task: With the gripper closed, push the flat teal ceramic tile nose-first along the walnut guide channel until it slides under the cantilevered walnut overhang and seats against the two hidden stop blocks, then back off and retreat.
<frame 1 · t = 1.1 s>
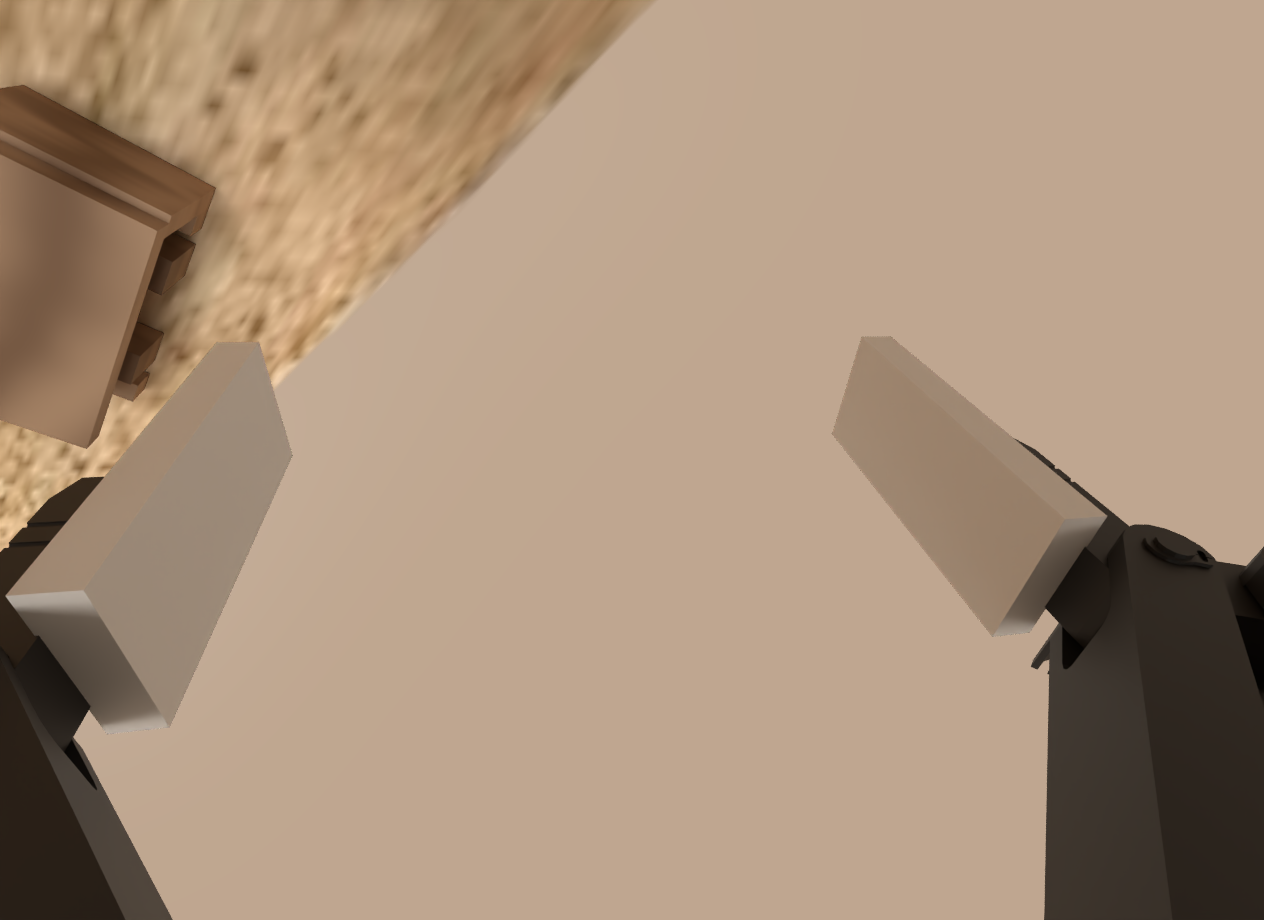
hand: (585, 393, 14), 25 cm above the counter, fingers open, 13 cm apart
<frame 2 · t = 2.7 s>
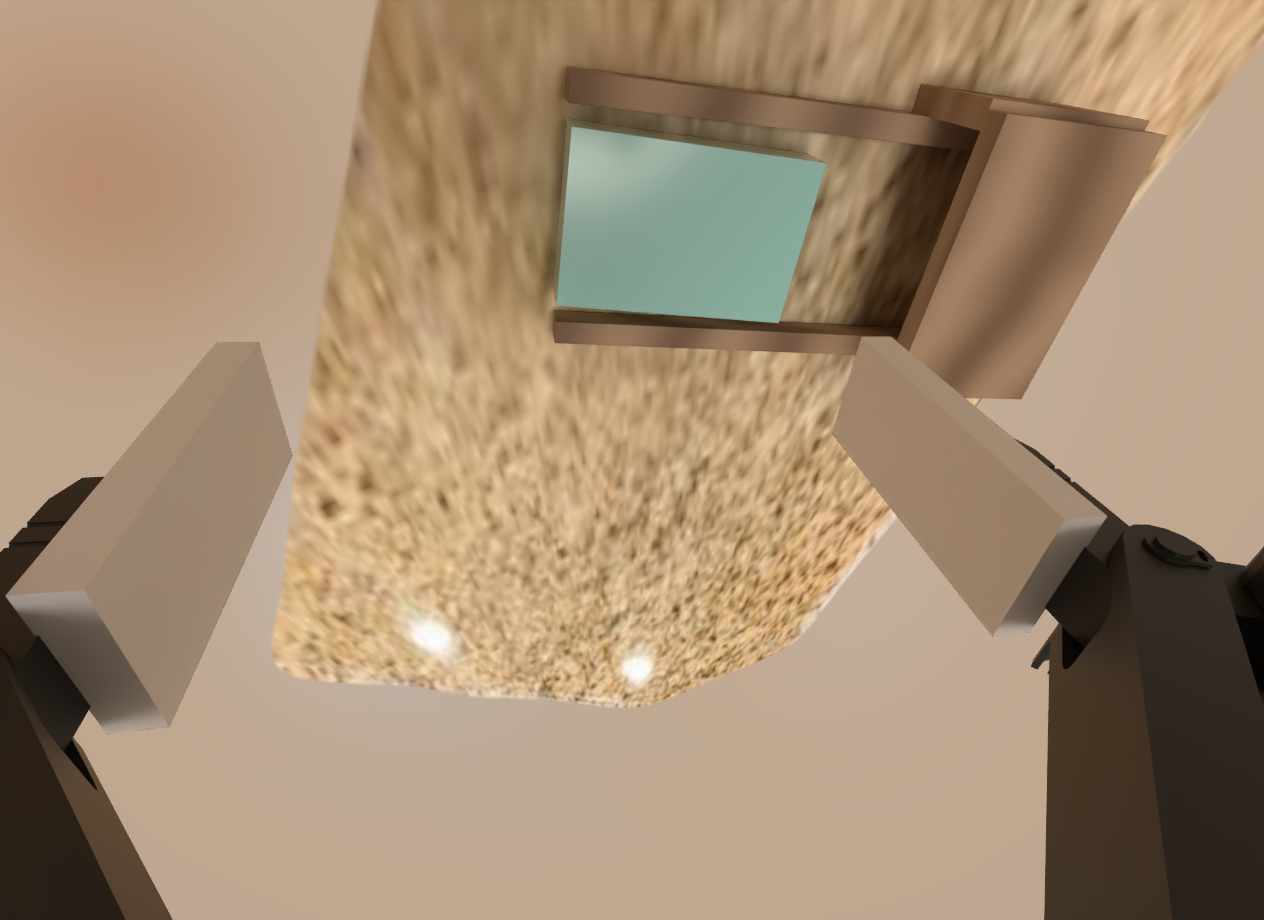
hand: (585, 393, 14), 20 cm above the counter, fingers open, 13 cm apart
tile: (674, 220, 32), on the counter
overhang: (869, 239, 34), on the counter
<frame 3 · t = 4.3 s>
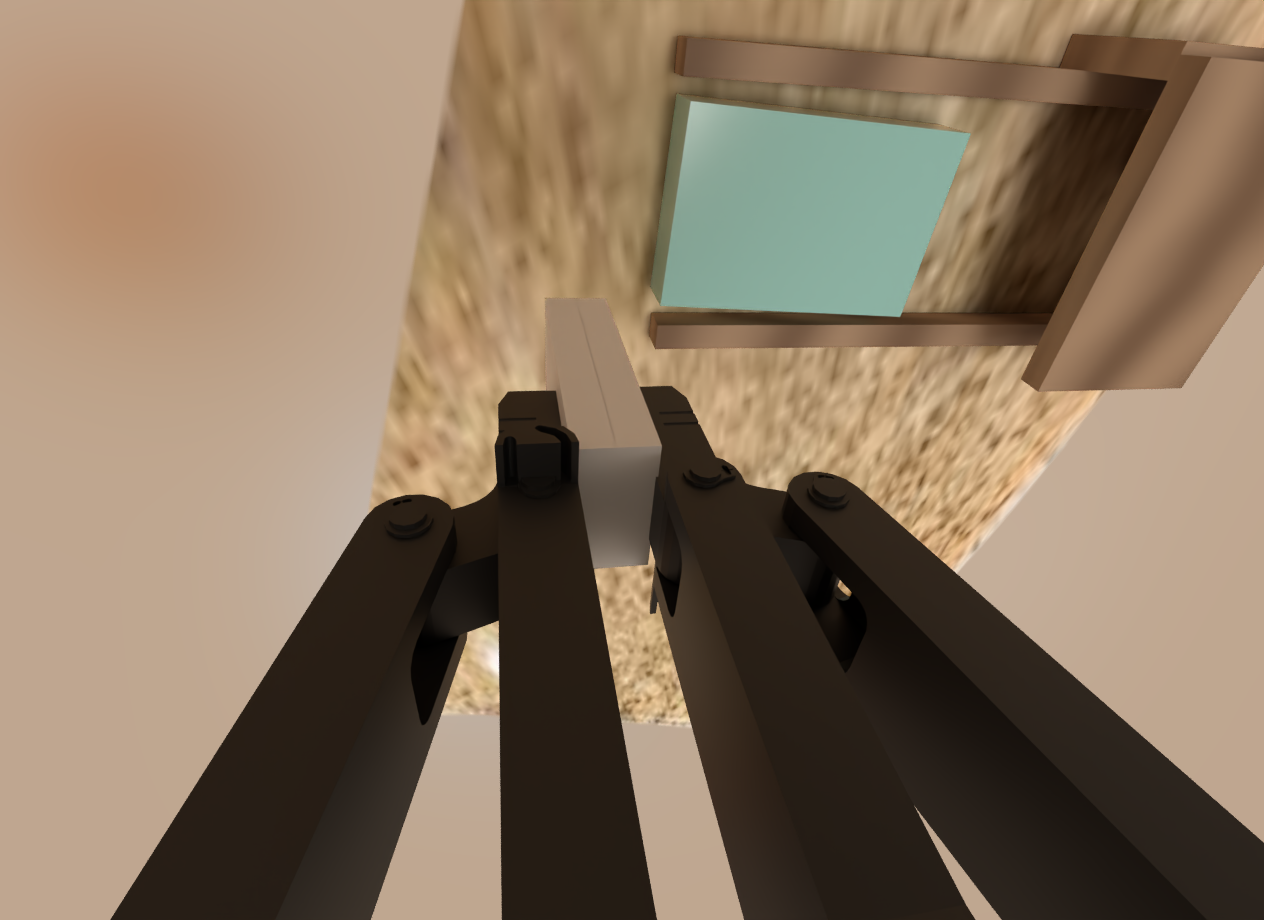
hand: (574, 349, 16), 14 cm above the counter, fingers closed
tile: (785, 205, 29), on the counter
overhang: (999, 216, 31), on the counter
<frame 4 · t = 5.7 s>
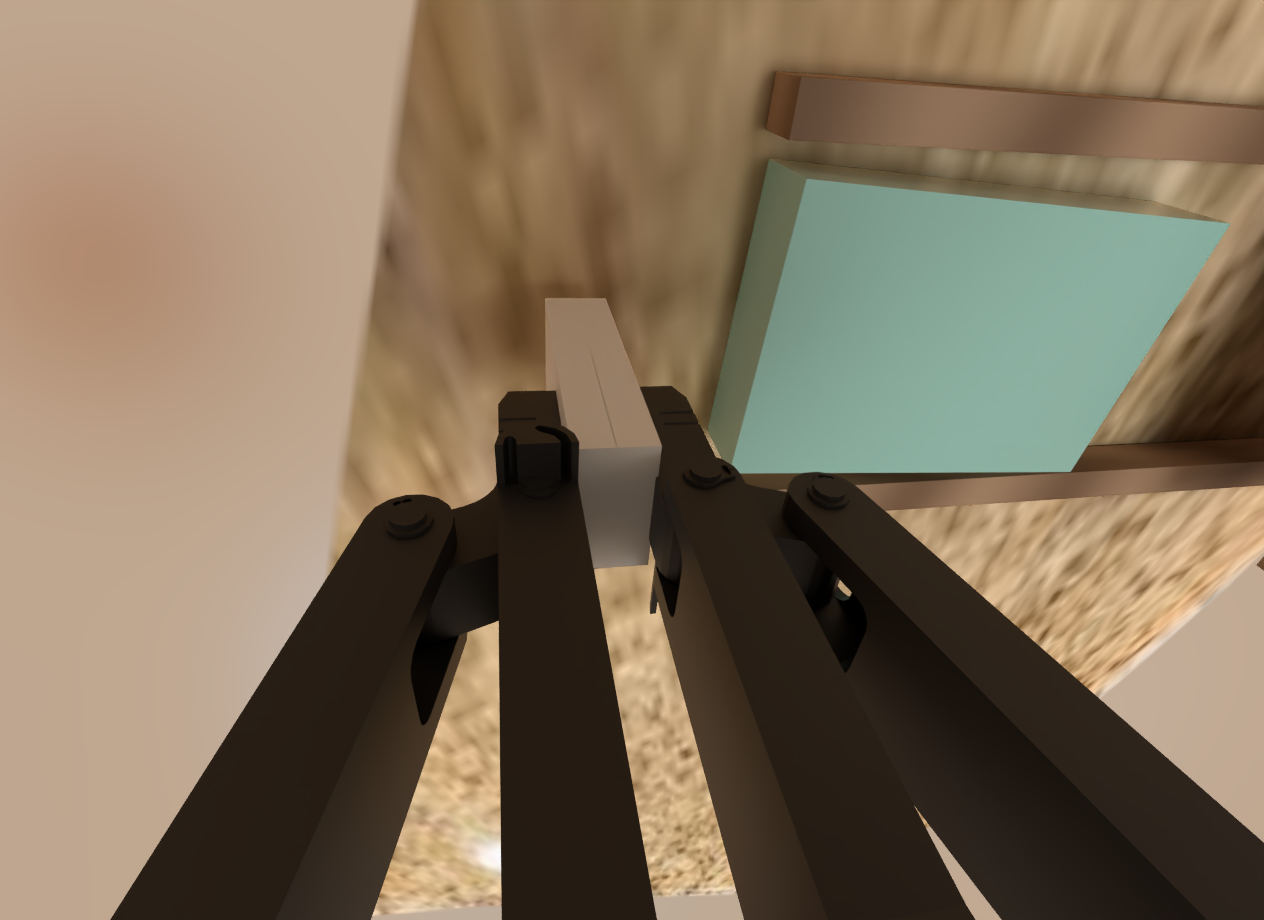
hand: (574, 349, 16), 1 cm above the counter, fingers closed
tile: (911, 315, 19), on the counter
overhang: (1212, 321, 21), on the counter
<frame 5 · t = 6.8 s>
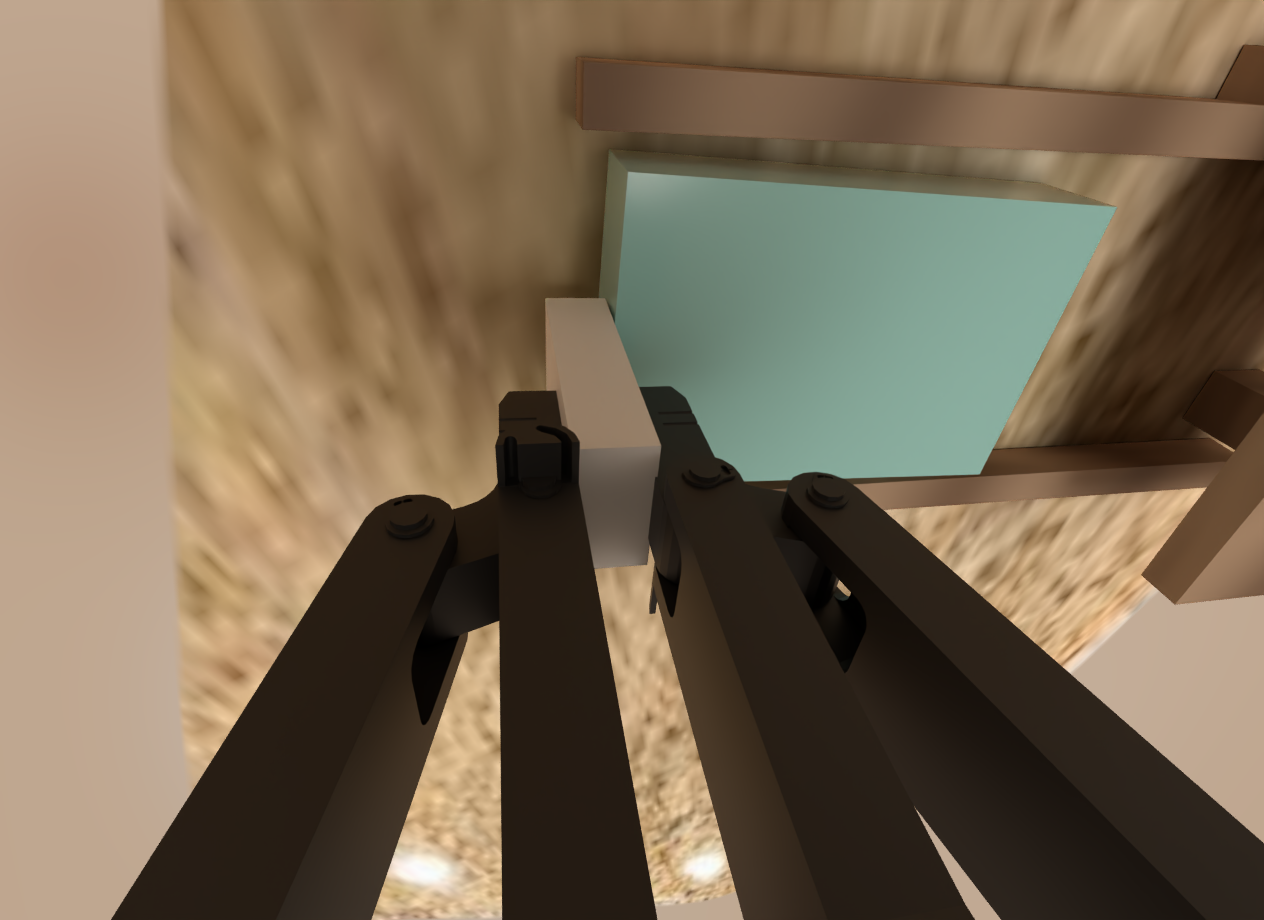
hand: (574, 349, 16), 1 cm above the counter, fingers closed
tile: (799, 313, 18), on the counter, touching gripper
overhang: (1100, 319, 20), on the counter
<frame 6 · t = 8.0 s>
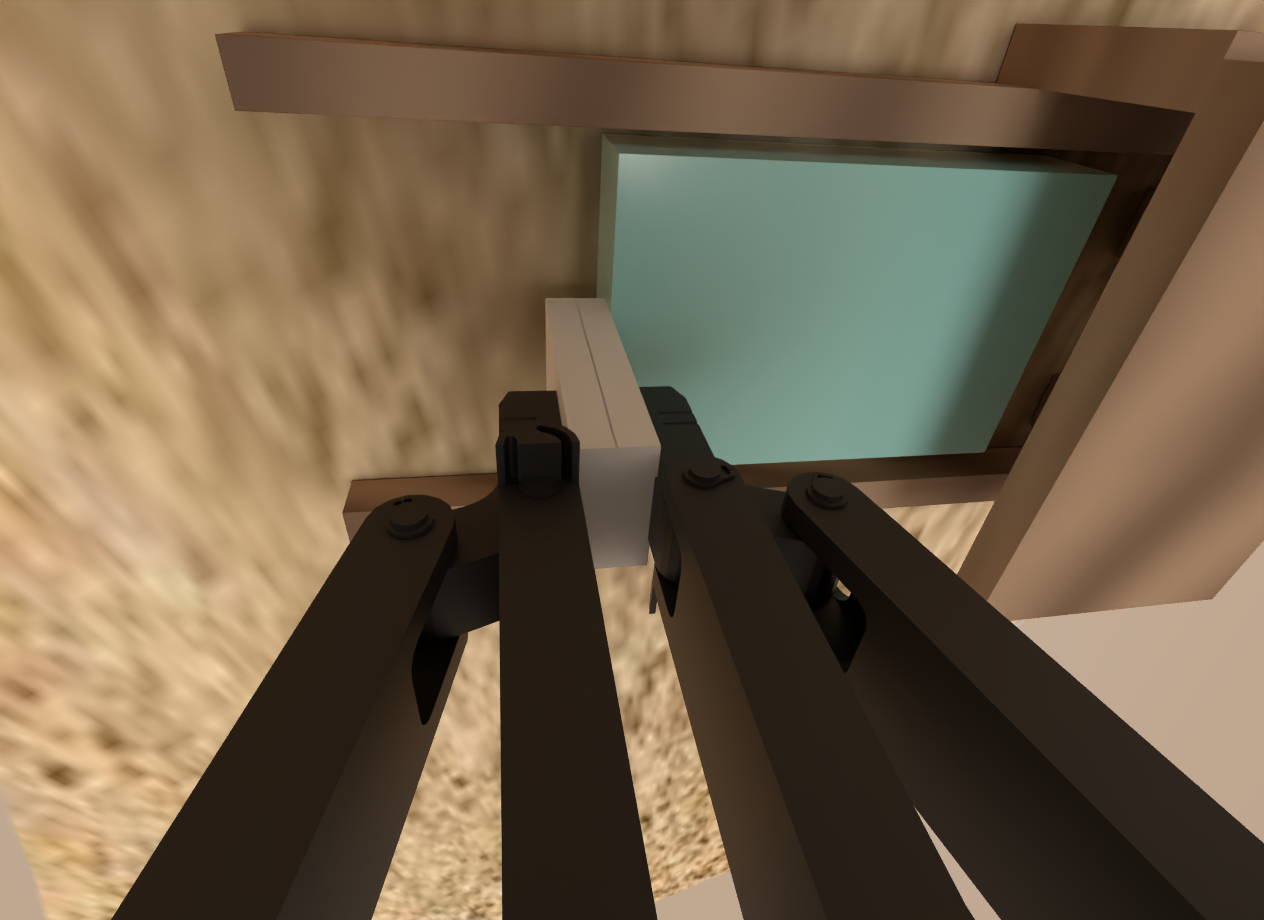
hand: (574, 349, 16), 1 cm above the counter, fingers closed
tile: (798, 294, 18), on the counter
overhang: (914, 320, 19), on the counter
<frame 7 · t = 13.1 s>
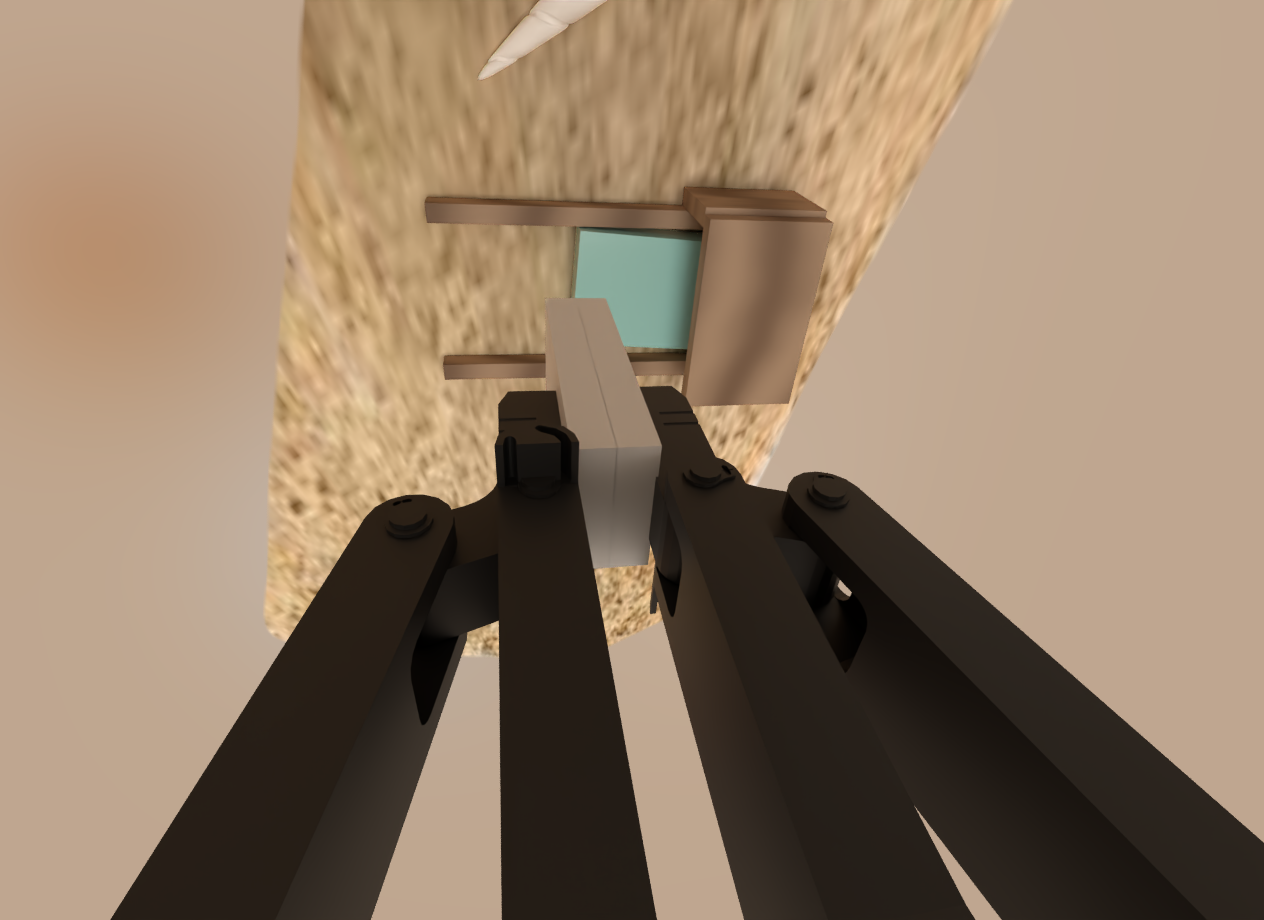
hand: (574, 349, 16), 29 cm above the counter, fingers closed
tile: (651, 282, 47), on the counter
overhang: (672, 292, 47), on the counter
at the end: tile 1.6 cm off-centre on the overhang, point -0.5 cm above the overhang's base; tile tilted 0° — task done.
